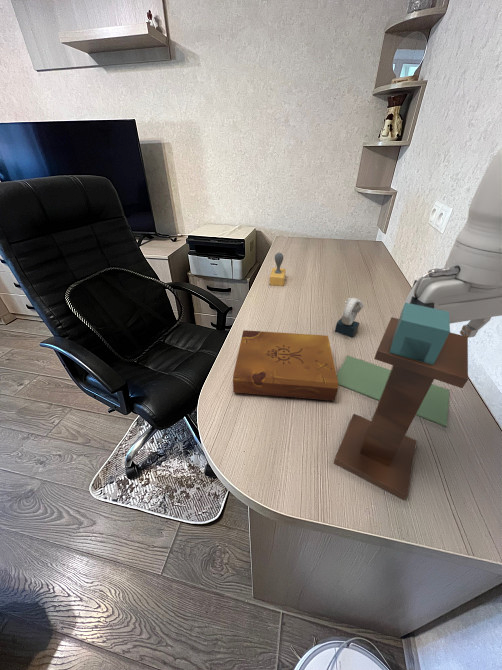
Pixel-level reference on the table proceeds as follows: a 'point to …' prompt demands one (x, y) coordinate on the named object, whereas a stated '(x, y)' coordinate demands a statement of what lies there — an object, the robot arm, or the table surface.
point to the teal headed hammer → (420, 331)
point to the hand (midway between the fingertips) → (444, 339)
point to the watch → (349, 318)
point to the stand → (398, 414)
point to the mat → (373, 381)
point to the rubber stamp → (278, 272)
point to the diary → (285, 365)
